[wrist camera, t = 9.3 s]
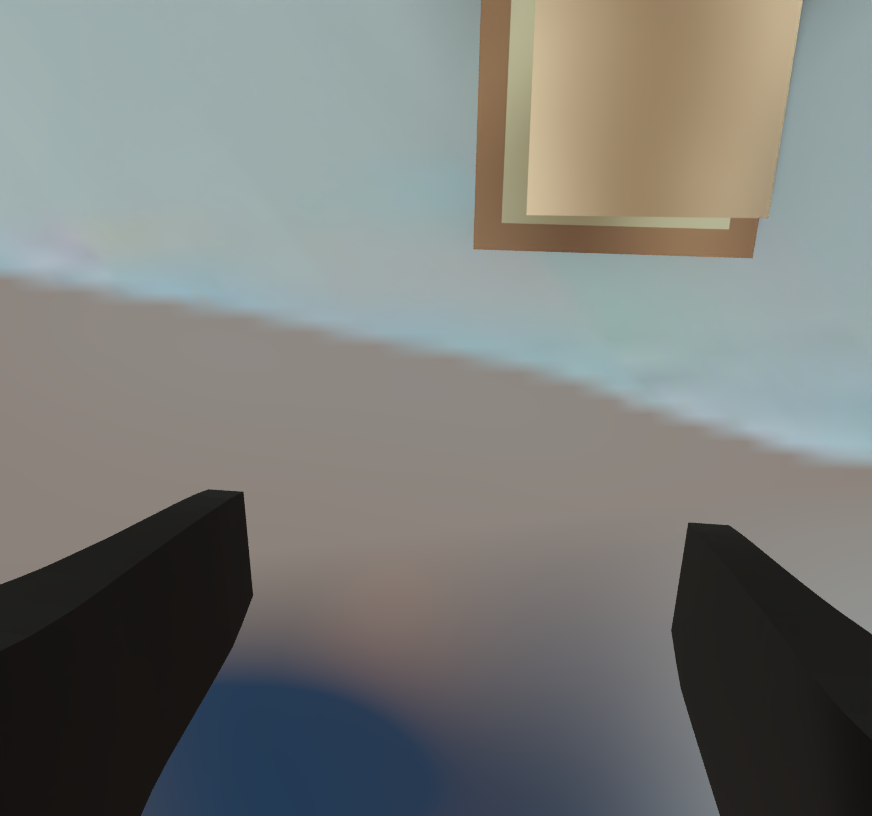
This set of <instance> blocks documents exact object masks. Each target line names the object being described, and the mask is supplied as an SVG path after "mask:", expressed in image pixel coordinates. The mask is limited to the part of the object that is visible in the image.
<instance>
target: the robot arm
mask: <svg viewBox="0 0 872 816" xmlns="http://www.w3.org/2000/svg"><path fill="white" fill-rule="evenodd" d="M248 548H249V547H248V537H247V527H246V515H245V504H244V494H243V492H237V491H222V490H209V489H208V490H206V491H203V492H200V493H198V494H195V495H193V496H191V497H189V498H187V499H184V500H182V501H180V502H178V503H176V504H174V505H172V506H170V507H168V508H166V509H164V510H162V511H160V512H158V513H156V514H154V515H152V516H150V517H148V518H146V519H144V520H142V521H140V522H138V523H136V524H135V525H133V526H130V527H129V528H126V529H125V530H123V531H121V532H119V533H117V534H115V535H113V536H111V537H109V538H107V539H105V540H103V541H100V542H98V543H96V544H94V545H92V546H89V547H87V548H85V549H83V550H81V551H79V552H76V553H74V554H72V555H70V556H68V557H66V558H63V559H62V560H59V561H57V562H55V563H53V564H51V565H48V566H46V567H43V568H42V569H39V570H36V571H34V572H31V573H29V574H27V575H24V576H22V577H19V578H17V579H14V580H11V581H9V582H6V583H3V584H0V816H141V814H142V812H143V809H144V807H145V805H146V803H147V800H148V798H149V796H150V794H151V791H152V789H153V788H154V786H155V783H156V782H157V780H158V778H159V776H160V774H161V772H162V770H163V768H164V766H165V765H166V763H167V761H168V759H169V757H170V755H171V754H172V752H173V750H174V749H175V747H176V745H177V743H178V742H179V740H180V738H181V737H182V735H183V733H184V731H185V730H186V728H187V726H188V724H189V723H190V721H191V719H192V718H193V716H194V714H195V712H196V710H197V709H198V707H199V705H200V704H201V702H202V700H203V699H204V697H205V695H206V693H207V692H208V690H209V688H210V686H211V685H212V683H213V681H214V679H215V678H216V676H217V674H218V672H219V670H220V669H221V667H222V665H223V663H224V662H225V660H226V658H227V656H228V654H229V653H230V651H231V649H232V647H233V645H234V642H235V640H236V637H237V635H238V633H239V630H240V628H241V626H242V623H243V620H244V618H245V615H246V613H247V610H248V607H249V605H250V602H251V599H252V597H253V590H252V580H251V570H250V558H249V549H248ZM671 631H672V637H673V644H674V651H675V657H676V664H677V669H678V675H679V680H680V686H681V690H682V694H683V697H684V701H685V704H686V707H687V711H688V714H689V717H690V721H691V724H692V727H693V730H694V734H695V737H696V740H697V743H698V747H699V749H700V753H701V756H702V759H703V762H704V766H705V769H706V772H707V775H708V778H709V782H710V785H711V788H712V791H713V795H714V798H715V801H716V804H717V807H718V810H719V814H720V816H872V634H871V633H869V632H868V631H866V630H865V629H863V628H862V627H860V626H859V625H857V624H856V623H855V622H854V621H852V620H851V619H849V618H848V617H846V616H845V615H844V614H842V613H841V612H839V611H838V610H836V609H835V608H834V607H832V606H831V605H830V604H828V603H827V602H826V601H825V600H823V599H822V598H821V597H819V596H818V595H817V594H815V593H814V592H813V591H811V590H810V589H809V588H808V587H806V586H805V585H804V584H803V583H801V582H800V581H799V580H798V579H796V578H795V577H794V576H793V575H791V574H790V573H789V572H788V571H786V570H785V569H784V568H782V567H781V566H780V565H779V564H778V563H776V562H775V561H774V560H773V559H771V558H770V557H769V556H768V555H767V554H765V553H764V552H763V551H762V550H760V549H759V548H758V547H757V546H756V545H754V544H753V543H752V542H751V541H749V540H748V539H747V538H746V537H744V536H743V535H742V534H740V533H739V532H738V531H736V530H735V529H733V528H732V527H731V526H729V525H716V524H702V523H688V528H687V534H686V541H685V547H684V553H683V561H682V566H681V573H680V579H679V585H678V592H677V598H676V605H675V611H674V617H673V623H672V630H671Z"/></svg>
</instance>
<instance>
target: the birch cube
mask: <svg viewBox="0 0 872 816" xmlns="http://www.w3.org/2000/svg"><path fill="white" fill-rule="evenodd" d="M802 2H803V0H535V23H534V46H533V70H532V94H531V117H530V141H529V165H528V188H527V213H526V215H551V216H628V217H704V218H768V217H769V210H770V204H771V198H772V191H773V185H774V179H775V173H776V166H777V160H778V154H779V147H780V141H781V135H782V128H783V122H784V116H785V109H786V103H787V97H788V91H789V84H790V78H791V72H792V65H793V59H794V53H795V46H796V40H797V34H798V27H799V21H800V15H801V9H802Z"/></svg>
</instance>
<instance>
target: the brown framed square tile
mask: <svg viewBox="0 0 872 816" xmlns="http://www.w3.org/2000/svg"><path fill="white" fill-rule="evenodd" d="M534 23H535V0H481V23H480V55H479V88H478V120H477V153H476V185H475V218H474V249H484V250H515V251H546V252H577V253H608V254H639V255H670V256H702V257H733V258H753V252H754V246H755V240H756V234H757V228H758V222H759V218H704V217H628V216H551V215H526V213H527V188H528V165H529V141H530V117H531V94H532V70H533V46H534Z"/></svg>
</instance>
